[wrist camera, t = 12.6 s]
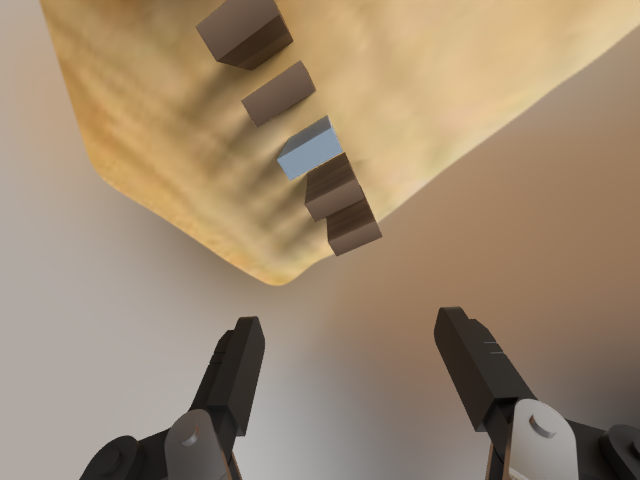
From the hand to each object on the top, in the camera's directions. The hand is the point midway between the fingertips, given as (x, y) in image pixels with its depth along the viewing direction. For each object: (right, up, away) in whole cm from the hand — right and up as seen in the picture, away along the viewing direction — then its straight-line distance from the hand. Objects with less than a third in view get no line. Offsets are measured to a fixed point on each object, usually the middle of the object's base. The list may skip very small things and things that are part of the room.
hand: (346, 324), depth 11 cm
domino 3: (-2, +16, +17) cm, 24 cm away
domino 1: (-6, +23, +13) cm, 27 cm away
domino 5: (+2, +9, +21) cm, 23 cm away
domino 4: (0, +13, +19) cm, 23 cm away
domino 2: (-4, +19, +15) cm, 25 cm away
